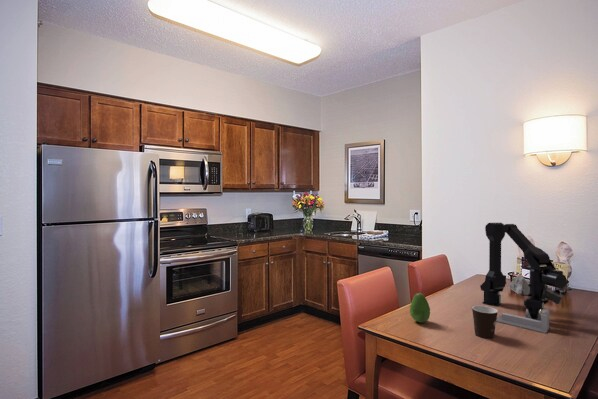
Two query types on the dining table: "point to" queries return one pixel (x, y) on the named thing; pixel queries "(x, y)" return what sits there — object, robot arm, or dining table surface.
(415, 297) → the fruit
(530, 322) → the hitch plate
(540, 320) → the lock block
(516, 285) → the mineral rock
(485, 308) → the coffee mug
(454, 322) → the dining table surface
